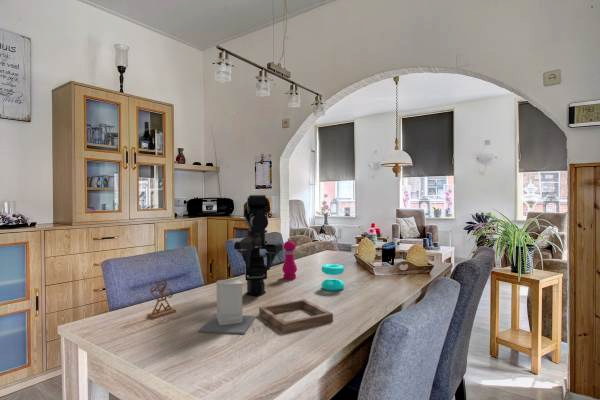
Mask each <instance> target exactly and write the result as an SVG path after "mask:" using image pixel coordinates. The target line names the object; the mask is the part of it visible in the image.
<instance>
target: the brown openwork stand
mask: <svg viewBox="0 0 600 400" xmlns="http://www.w3.org/2000/svg"><path fill="white" fill-rule="evenodd" d="M162 281H163V282H162ZM160 282H162V283H160ZM155 286H156V287H155ZM155 286H151V287H150V290H149V291H150V294H151V296H153V297H156V303H155V306H154V308H153V310H152V312H150V313H147V315H146V318H147V319H150V320H156V319H159V318H162V317H165V316H166V317H167V316H168V315H171V314H175V313H177V309H176V308H173V307H171V305H170V303H169V301H168V300H167V298H169V299H170V298H172V297H173V296H174V294H173V290H171V288H168V287H167V286H168V283H167V281H166V280H164V279H160V280H158V281H157V283H156V285H155ZM161 286H162V287H161ZM166 290H168V291H169V293H166V292H165V291H166ZM154 292H157V293H159V295H155V294H154ZM160 295H161V296H160ZM163 295H164V297H163ZM163 301H165V303H166V304H167V305H166V306H165V305H164V303H163ZM159 303H160V305H159ZM158 305H159V307H158ZM157 307H158V308H157ZM161 308H163V309H161Z"/></svg>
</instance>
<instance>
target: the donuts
mask: <svg viewBox="0 0 600 400" xmlns="http://www.w3.org/2000/svg"><path fill="white" fill-rule="evenodd" d="M344 271H345V267H344V266H343V265H341V264H338V263H337V264H336V263H327V264H324V265H322V266H321V272H322V273H324V274H325V275H330V276H338V275H341V274H343V273H344ZM344 287H345V283H344V282H343V280H341V279H338V278H327V279H324V280H322V282H321V288H322V289H324V290H327V291H340V290H343V289H345V288H344Z"/></svg>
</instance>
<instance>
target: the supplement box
mask: <svg viewBox="0 0 600 400" xmlns="http://www.w3.org/2000/svg"><path fill="white" fill-rule="evenodd" d="M216 314H217V320H218V323H219V325H229V324H236V323H242V315H243V282H242V281H241V280H240V279H239V278H229V279H228V278H227V279H219V280H217V281H216Z"/></svg>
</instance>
